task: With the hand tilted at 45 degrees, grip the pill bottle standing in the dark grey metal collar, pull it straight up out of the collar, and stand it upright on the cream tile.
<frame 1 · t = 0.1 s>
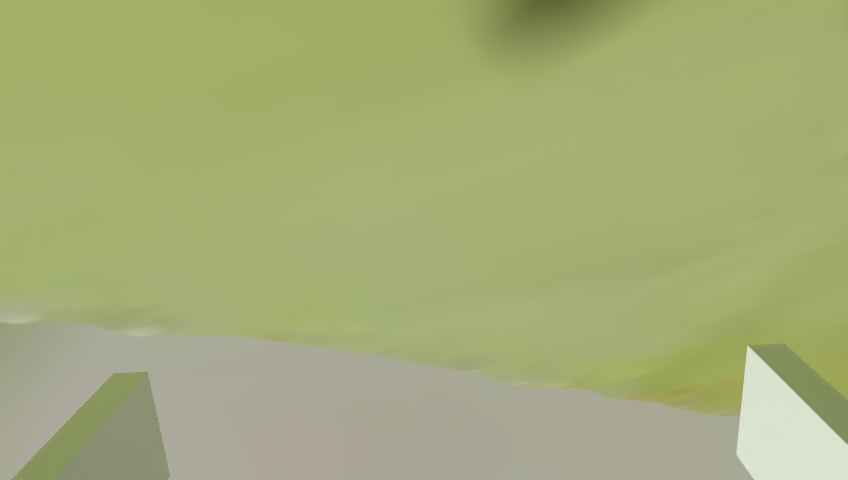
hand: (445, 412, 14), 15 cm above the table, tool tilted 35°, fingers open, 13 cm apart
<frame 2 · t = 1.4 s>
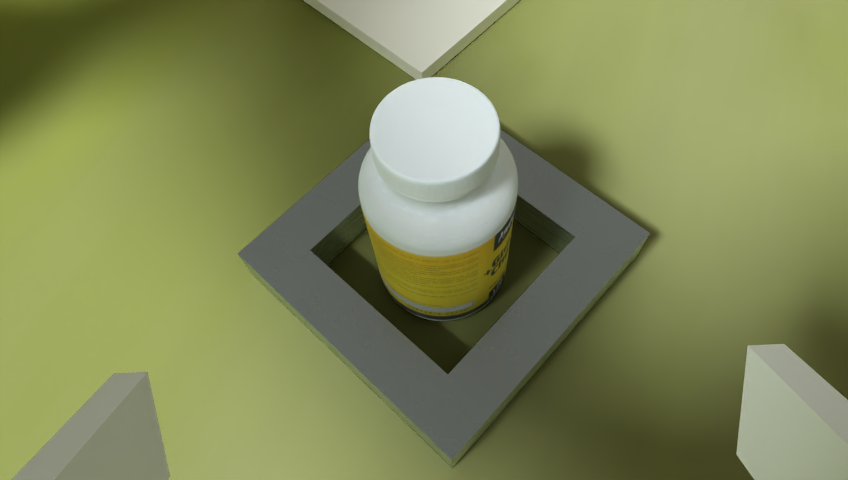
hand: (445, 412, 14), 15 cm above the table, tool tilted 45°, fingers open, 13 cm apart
pill bottle: (443, 267, 33), resting in metal collar
metal collar: (443, 265, 33), on the table
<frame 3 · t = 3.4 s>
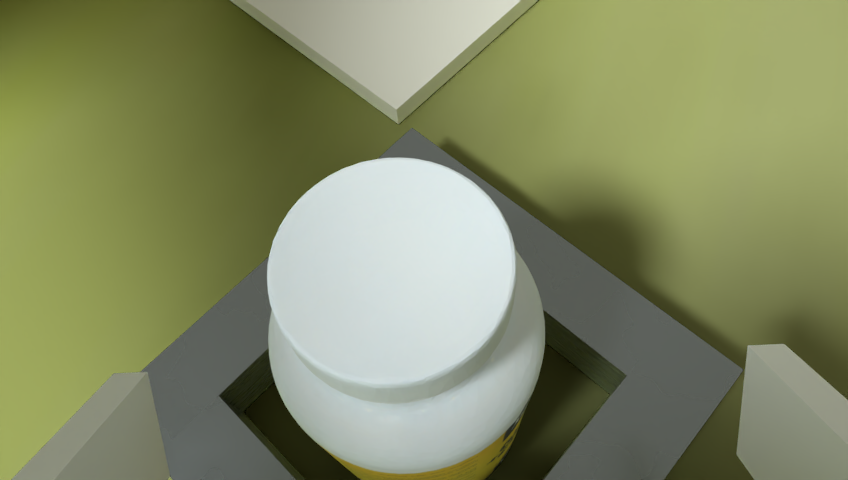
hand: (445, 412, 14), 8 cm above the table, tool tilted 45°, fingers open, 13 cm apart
pill bottle: (425, 405, 22), resting in metal collar
metal collar: (424, 403, 22), on the table
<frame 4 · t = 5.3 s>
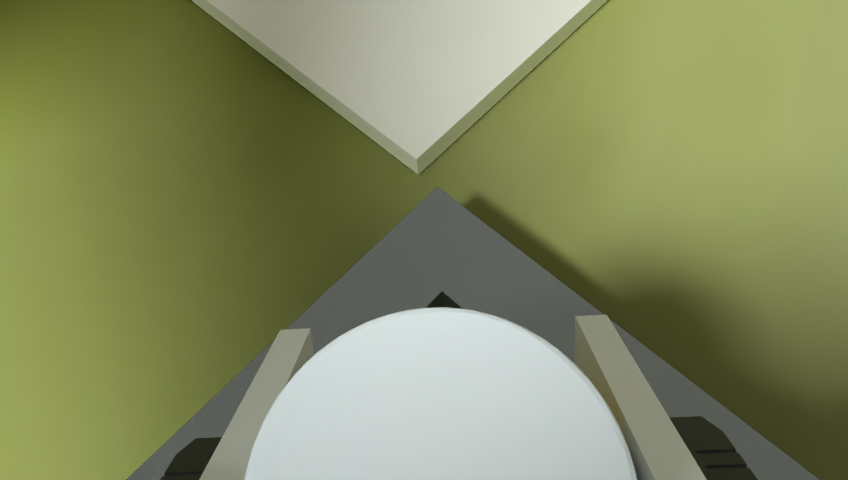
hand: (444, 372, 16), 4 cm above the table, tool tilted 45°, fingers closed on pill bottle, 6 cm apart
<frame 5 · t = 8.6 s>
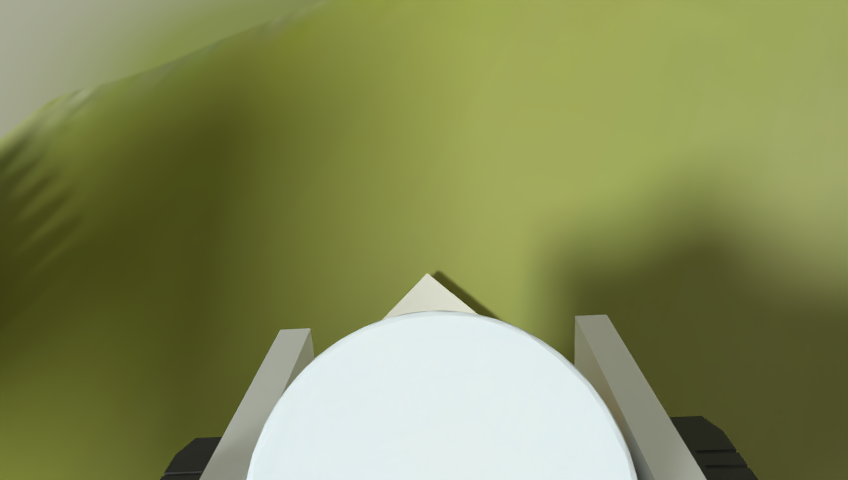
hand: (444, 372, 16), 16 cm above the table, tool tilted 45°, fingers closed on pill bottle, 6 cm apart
when the fingers open (6 cm above the table, at t = 12.0 s): pill bottle stays where it is, resting on cream tile.
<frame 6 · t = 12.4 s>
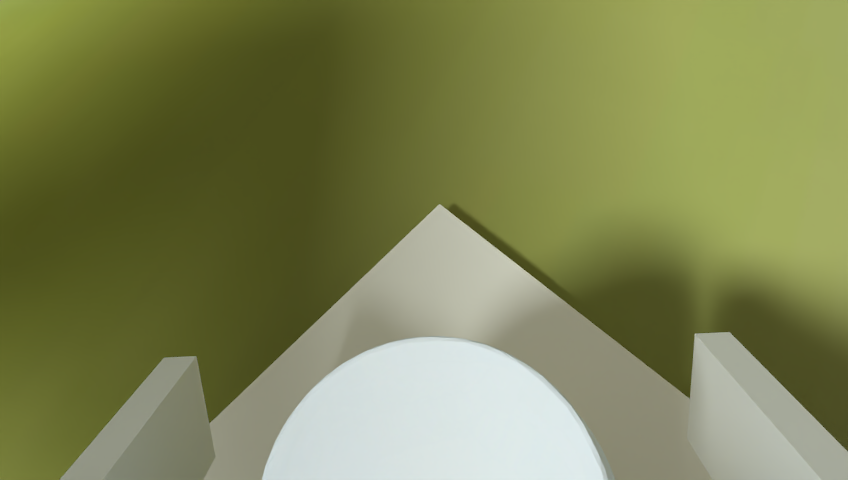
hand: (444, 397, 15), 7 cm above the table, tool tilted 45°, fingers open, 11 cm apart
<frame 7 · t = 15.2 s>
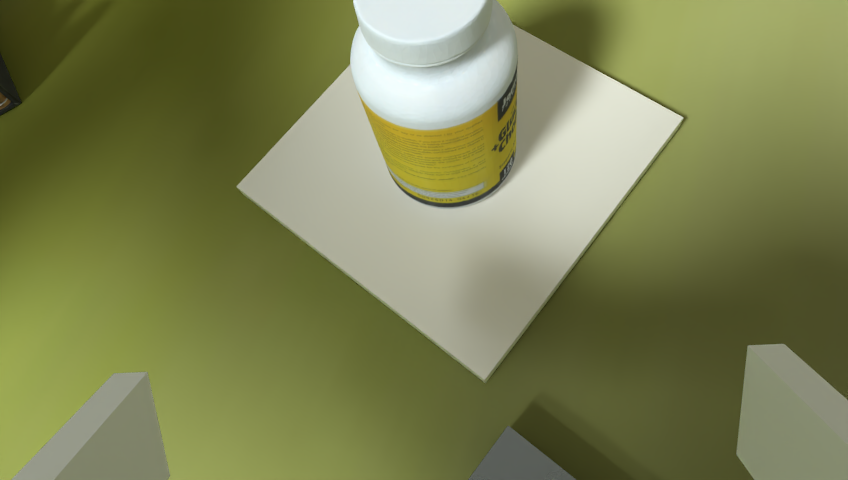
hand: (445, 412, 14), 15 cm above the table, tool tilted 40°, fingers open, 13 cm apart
pill bottle: (451, 156, 32), point 1 cm above the table, touching cream tile
cream tile: (455, 162, 33), on the table
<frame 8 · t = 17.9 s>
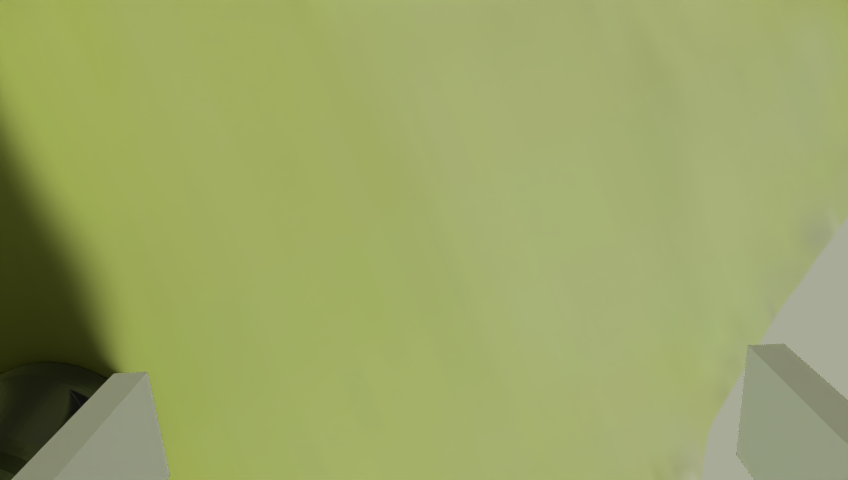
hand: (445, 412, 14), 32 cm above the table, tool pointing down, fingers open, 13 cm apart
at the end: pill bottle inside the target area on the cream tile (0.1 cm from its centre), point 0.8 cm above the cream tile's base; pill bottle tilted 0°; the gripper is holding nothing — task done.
